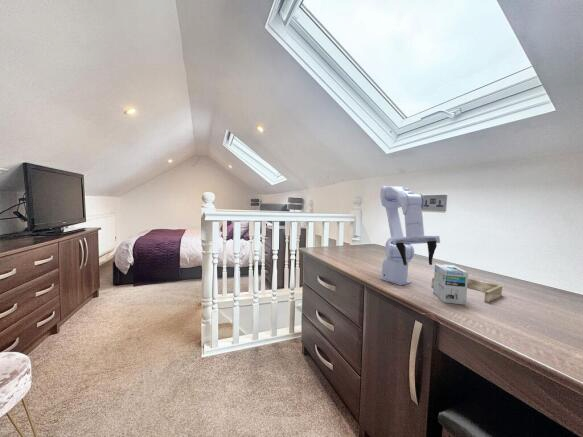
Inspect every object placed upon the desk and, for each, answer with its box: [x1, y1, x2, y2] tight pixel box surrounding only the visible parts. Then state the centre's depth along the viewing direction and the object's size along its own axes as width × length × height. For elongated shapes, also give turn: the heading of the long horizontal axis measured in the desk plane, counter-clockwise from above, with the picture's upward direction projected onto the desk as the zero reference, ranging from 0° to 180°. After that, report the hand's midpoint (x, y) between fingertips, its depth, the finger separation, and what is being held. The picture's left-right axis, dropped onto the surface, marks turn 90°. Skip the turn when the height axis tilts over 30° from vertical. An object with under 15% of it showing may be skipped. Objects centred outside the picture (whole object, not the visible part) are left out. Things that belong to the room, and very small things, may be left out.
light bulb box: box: [432, 263, 469, 306], centre depth 86 cm, size 11×7×11 cm, turn 168°
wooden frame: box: [431, 277, 503, 304], centre depth 94 cm, size 18×14×4 cm
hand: (417, 264), depth 84 cm, fingers open, 7 cm apart
